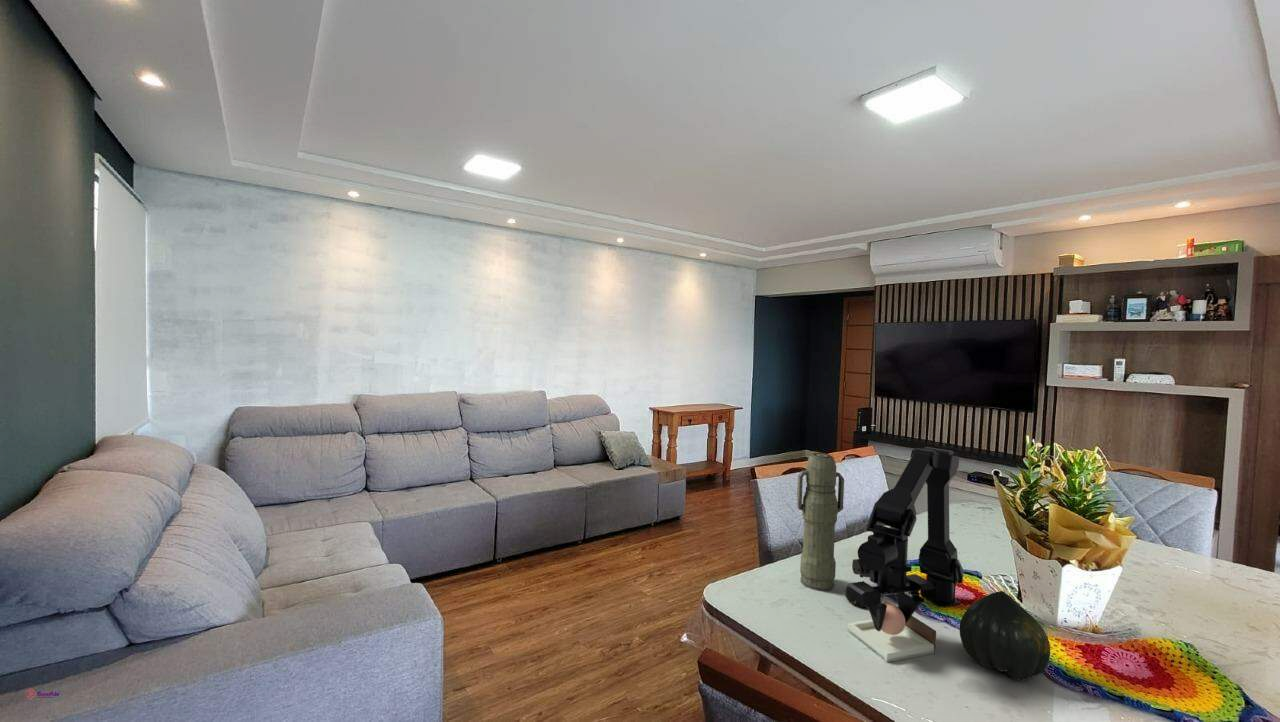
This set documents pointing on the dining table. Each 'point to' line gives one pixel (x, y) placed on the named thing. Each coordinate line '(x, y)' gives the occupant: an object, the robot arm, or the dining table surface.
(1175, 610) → the dining table surface
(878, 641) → the dish
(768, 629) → the dining table surface
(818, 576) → the thermos
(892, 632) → the ball
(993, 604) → the squash
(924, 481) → the robot arm
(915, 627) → the divider rail
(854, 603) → the tape measure
